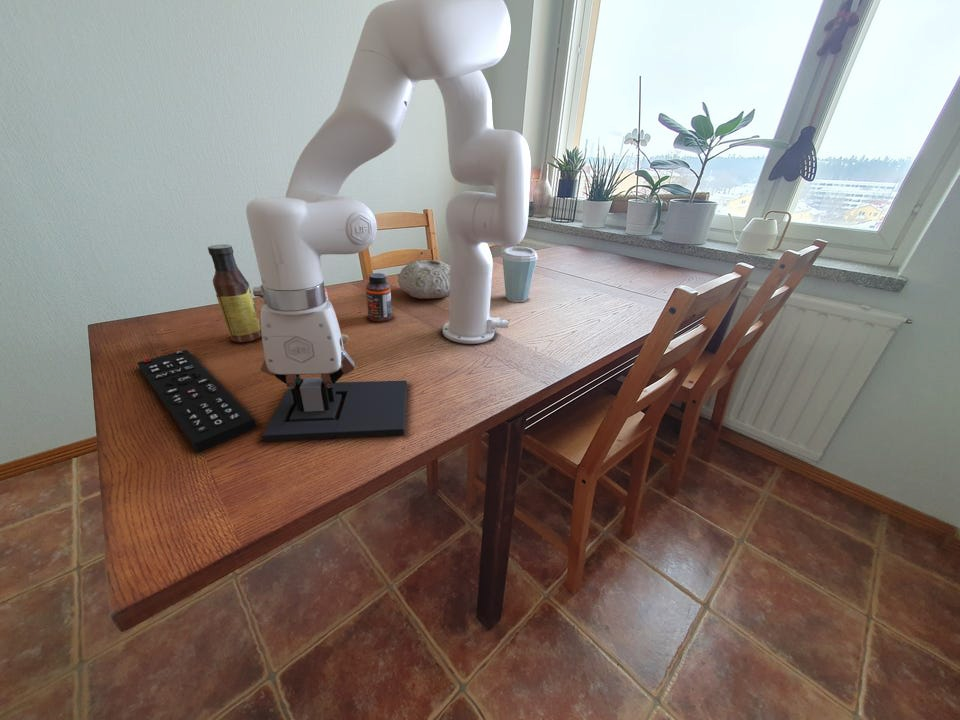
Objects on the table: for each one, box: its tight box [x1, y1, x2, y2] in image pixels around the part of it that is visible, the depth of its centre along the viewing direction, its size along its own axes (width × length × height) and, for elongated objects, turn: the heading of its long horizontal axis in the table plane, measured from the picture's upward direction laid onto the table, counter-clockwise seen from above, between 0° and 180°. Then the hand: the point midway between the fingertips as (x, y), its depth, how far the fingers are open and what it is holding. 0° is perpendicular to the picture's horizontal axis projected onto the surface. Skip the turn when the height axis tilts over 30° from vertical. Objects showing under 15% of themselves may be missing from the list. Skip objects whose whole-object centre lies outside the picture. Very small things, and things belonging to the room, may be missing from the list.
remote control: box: [136, 349, 257, 453], centre depth 62 cm, size 8×32×2 cm, turn 49°
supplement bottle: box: [365, 272, 393, 323], centre depth 94 cm, size 6×6×11 cm
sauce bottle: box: [207, 243, 262, 344], centre depth 78 cm, size 6×6×20 cm
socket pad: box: [261, 380, 408, 443], centre depth 61 cm, size 20×14×1 cm
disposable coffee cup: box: [501, 245, 539, 303], centre depth 112 cm, size 11×11×15 cm
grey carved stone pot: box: [397, 259, 450, 300], centre depth 111 cm, size 18×18×10 cm
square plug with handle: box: [288, 376, 343, 422], centre depth 59 cm, size 6×6×6 cm
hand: (316, 403), depth 60 cm, fingers open, 3 cm apart
